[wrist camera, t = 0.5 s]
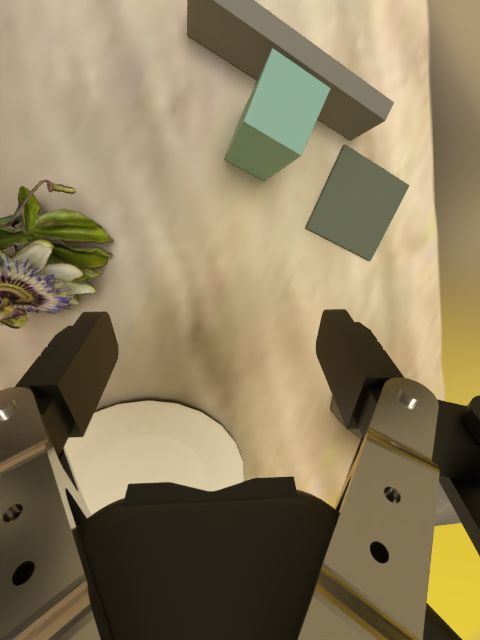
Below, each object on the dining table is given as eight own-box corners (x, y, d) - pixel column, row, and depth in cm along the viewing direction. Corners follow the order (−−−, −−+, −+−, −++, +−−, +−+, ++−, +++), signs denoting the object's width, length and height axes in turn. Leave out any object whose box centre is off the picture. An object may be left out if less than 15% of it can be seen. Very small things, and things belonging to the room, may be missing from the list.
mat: (305, 228, 32) (306, 227, 31) (343, 145, 30) (345, 144, 30) (368, 260, 34) (370, 260, 34) (406, 186, 32) (409, 185, 32)
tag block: (224, 159, 28) (243, 121, 19) (243, 109, 27) (274, 42, 18) (264, 181, 30) (301, 155, 20) (284, 133, 29) (332, 83, 19)
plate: (80, 574, 40) (75, 588, 38) (6, 424, 32) (-4, 434, 30) (254, 520, 43) (257, 531, 41) (224, 372, 35) (226, 379, 34)
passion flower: (67, 284, 34) (-56, 335, 24) (28, 182, 29) (-148, 196, 19) (142, 292, 30) (28, 358, 20) (111, 174, 24) (-62, 187, 15)
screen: (187, 35, 25) (187, -18, 20) (206, -22, 24) (212, -93, 19) (350, 140, 30) (385, 120, 25) (371, 96, 29) (411, 65, 24)
